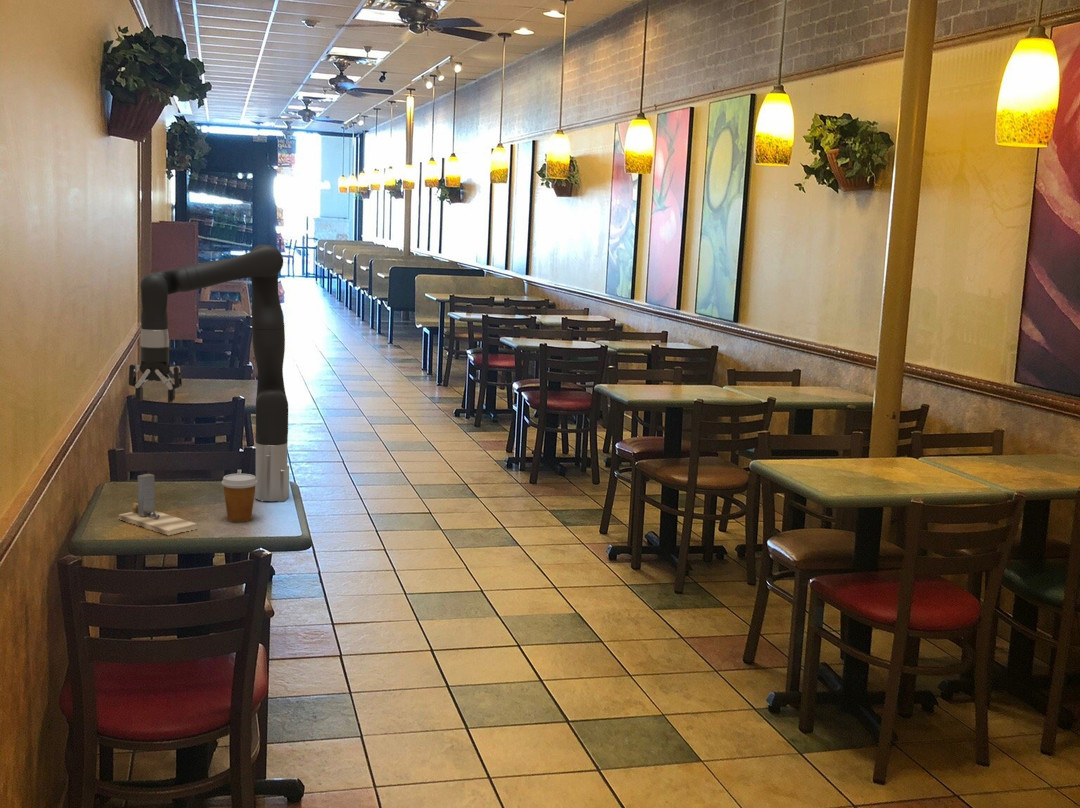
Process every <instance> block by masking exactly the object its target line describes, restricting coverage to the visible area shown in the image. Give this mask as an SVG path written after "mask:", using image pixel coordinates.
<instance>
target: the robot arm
mask: <svg viewBox="0 0 1080 808" xmlns="http://www.w3.org/2000/svg"><path fill="white" fill-rule="evenodd" d="M283 266H284V256H283V255H282V252H281V251H279V250H278V248H276V247H275V246H272V245H268V244H258V245H256V246H254V247H253V248H252V249H251V250H250V252H247V253H244V254H241V255H239V256H234V257H230V258H226V259H225V258H224V259H219V260H211V261H204V262H199V263H194V264H190V265H185V266H181V267H178V268H175V269H169V270H168V269H167V270H162V271H161V270H160V271H156V272H151V273H148V274H146V275H144V276H143V277H142V279H141V281H140V292H141V293H140V295H141V296H140V297H141V307H142V308H141V316H140V317H141V318H140V319H141V320H140V322H141V324H140V327H141V330H140V364H137V363H133V364H130V365H129V367H128V385H129V386H131V387H134V388H135V399H136V400H137V402H142V401H143V400H144V387H143V386H144V384H145V383H146V382H147V381H149V382H150V381H151V382H152V381H156V382H161V381H162V383H163V384H164V385H166V387H167V402H168V403H169V404H172V403H173V402H174V401H175V399H176V389H179V388H181V387H182V385H183V382H182V381H183V380H182V368H181V366H180V365H177V366H171V365H170V337H169V329H168V328H169V324H168V323H169V322H168V321H169V319H168V297H169V296H168V295H172V294H175V293H176V294H177V293H187V292H191V291H196V290H197V291H198V290H200V289H205V288H208V287H212V286H215V285H219V284H224V283H228V282H231V281H236V280H242V279H250V280H251V288H252V305H251V306H252V307H251V333H252V334H251V335H252V338H251V339H252V346H253V347H252V348H253V355H254V360H255V365H256V369H257V370H256V371H257V372H256V373H257V384H256V385H257V387H256V397H255V477H256V480H257V483H256V485H255V493H254V494H255V500H256V499H258V500H263V501H278V502H285V501H286V500H287V499H288V498H289V497H290V466H289V465H288V440H289V439H288V438H289V402H288V398H287V394H286V389H285V388H286V387H285V382H284V373H283V371H284V370H283V368H284V361H285V359H284V358H285V350H286V349H285V348H286V347H285V346H286V338H285V337H286V336H285V321H284V314H283V309H282V305H281V301H280V297H279V296H280V295H279V273H280V271H281V270H282V268H283ZM139 370H140V372H141V373H142V375H141V376H140V378H139V379H138V381H137V374H138V373H137V372H139ZM170 372H171V373H172V375H173V379H174V381H173V379H172V378H171V377H170V375H169V373H170ZM258 500H257V501H258ZM263 501H262V502H263Z"/></svg>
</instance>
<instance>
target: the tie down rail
mask: <svg viewBox="0 0 1080 808" xmlns="http://www.w3.org/2000/svg"><path fill="white" fill-rule="evenodd" d="M131 504H132V506H131V507H132V511H130V512H126V513H120V514H118V520H119V519H120V520H123V521H127V522H130V523H133V524H136V525H139V526H142V527H145V528H148V529H151V530H153V531H152V532H154V531H156V532H155V533H157V532H160V533H163V534H167V535H171V534H176V533H180V532H185V533H187V532H186V531H189V532H192V531H191V530H193V531H196V530H195V529H197V530H198V528H199V527H198V523H195V522H193V521H191V520H190V521H189V520H185V519H183V518H179V517H177V516H172V515H170V514H167V513H163V512H162V511H161V512H160V511H157V510H155V514H158V515H160V517H159V518H155V517H152V516H145V517H143V516H140V515H138V511H137V510H138V502H132V503H131ZM120 520H119V521H120ZM123 521H122V522H123ZM130 523H129V524H130ZM133 524H132V525H133ZM136 525H135V526H136ZM139 526H138V527H139ZM142 527H141V528H142ZM145 528H144V529H145ZM148 529H147V530H148ZM151 530H150V531H151ZM160 533H159V534H160ZM163 534H162V535H163Z"/></svg>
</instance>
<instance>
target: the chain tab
mask: <svg viewBox="0 0 1080 808" xmlns="http://www.w3.org/2000/svg"><path fill="white" fill-rule="evenodd" d="M155 489H156V487H155V474H152V473H144V474H140V475H137V503H138V510H137V511H138V515H140V516H143V517H145V516H152V517H155V518H159V517H160V515H158V514H155V511H156V504H155V503H156V500H155V499H156V494H155Z"/></svg>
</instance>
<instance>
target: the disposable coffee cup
mask: <svg viewBox="0 0 1080 808" xmlns="http://www.w3.org/2000/svg"><path fill="white" fill-rule="evenodd" d="M256 483H257V480H256V475H254V474H249V473H231V474H226V475H224V476H223V479H222V481H221V485H222V487H223V493H224V500H225V501H224V502H225V508H226V509H225V510H226V515H227V520H228V521H229V520H230V521H229V522H233V521H238V522H237V523H242V522H241V521H244V522H248V520H249V521H251V520H252V515H253V507H254V500H255V494H256V493H255V491H256ZM250 519H251V520H250ZM239 521H240V522H239Z"/></svg>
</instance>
